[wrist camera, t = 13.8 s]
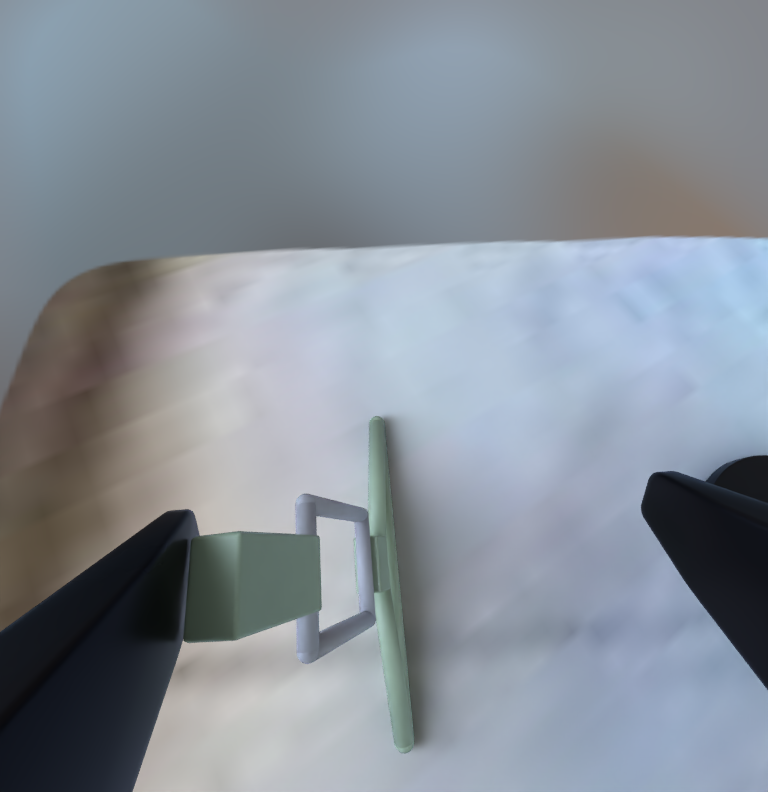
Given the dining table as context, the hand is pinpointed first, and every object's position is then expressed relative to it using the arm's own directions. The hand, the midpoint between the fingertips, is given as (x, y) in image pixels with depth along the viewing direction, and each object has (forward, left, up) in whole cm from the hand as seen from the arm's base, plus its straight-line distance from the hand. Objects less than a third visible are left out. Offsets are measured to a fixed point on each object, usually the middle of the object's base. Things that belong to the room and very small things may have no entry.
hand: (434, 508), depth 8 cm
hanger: (-1, 0, -10) cm, 10 cm away
